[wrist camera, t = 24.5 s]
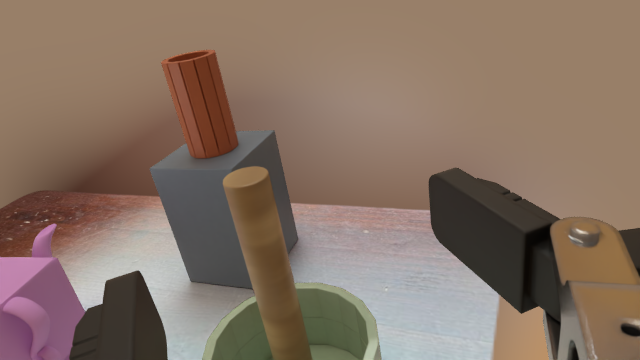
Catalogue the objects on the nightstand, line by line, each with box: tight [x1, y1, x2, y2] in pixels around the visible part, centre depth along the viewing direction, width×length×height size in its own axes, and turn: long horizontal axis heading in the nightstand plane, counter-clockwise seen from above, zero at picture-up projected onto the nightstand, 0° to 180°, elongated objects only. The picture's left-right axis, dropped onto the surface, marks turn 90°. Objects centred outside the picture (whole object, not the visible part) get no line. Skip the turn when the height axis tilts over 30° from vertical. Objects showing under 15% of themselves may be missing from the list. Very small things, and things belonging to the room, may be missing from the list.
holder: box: [150, 50, 298, 289], centre depth 40 cm, size 8×8×20 cm
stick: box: [223, 166, 313, 360], centre depth 25 cm, size 2×2×16 cm
